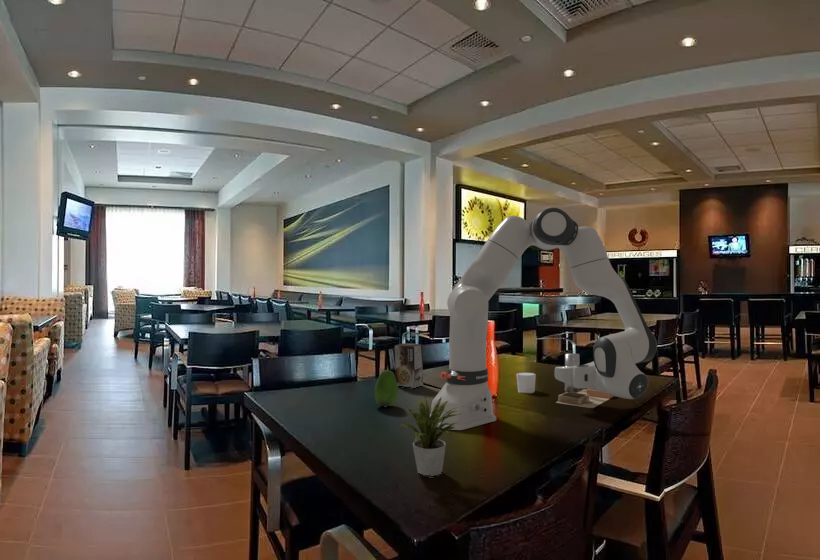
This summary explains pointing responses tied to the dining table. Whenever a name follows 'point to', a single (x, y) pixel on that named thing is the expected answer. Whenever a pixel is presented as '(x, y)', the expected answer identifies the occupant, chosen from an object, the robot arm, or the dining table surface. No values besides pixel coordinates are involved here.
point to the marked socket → (598, 394)
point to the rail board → (580, 399)
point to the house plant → (430, 437)
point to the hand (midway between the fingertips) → (570, 368)
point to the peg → (571, 360)
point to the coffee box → (409, 364)
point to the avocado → (386, 389)
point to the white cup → (526, 382)
